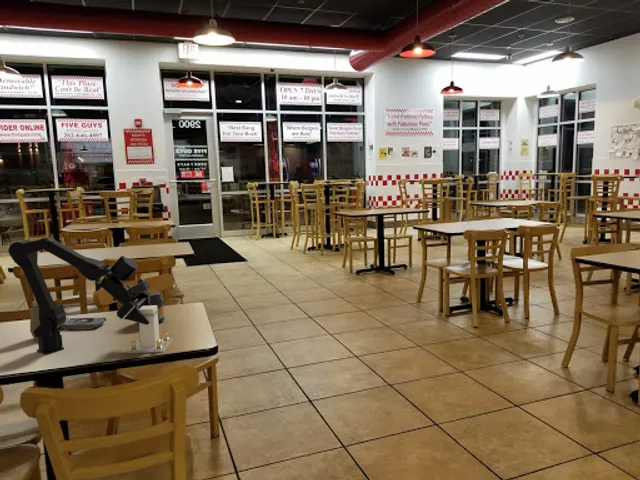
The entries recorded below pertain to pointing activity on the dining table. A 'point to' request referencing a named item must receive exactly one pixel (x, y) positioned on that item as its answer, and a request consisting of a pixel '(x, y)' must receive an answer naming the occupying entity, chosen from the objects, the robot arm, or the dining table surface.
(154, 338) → the block
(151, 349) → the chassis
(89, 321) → the graphics card
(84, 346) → the dining table surface
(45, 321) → the robot arm
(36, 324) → the squeeze bottle
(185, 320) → the dining table surface
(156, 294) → the supplement container
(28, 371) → the dining table surface
